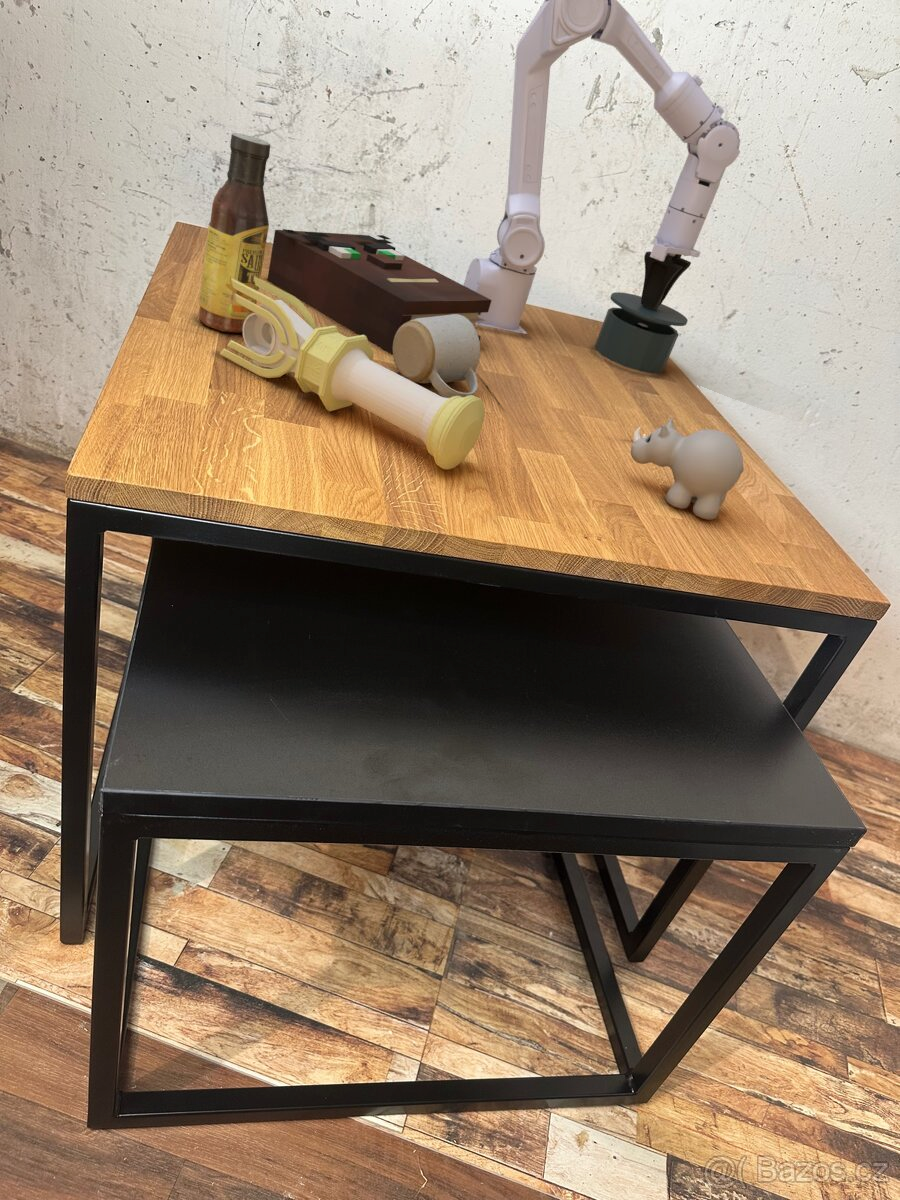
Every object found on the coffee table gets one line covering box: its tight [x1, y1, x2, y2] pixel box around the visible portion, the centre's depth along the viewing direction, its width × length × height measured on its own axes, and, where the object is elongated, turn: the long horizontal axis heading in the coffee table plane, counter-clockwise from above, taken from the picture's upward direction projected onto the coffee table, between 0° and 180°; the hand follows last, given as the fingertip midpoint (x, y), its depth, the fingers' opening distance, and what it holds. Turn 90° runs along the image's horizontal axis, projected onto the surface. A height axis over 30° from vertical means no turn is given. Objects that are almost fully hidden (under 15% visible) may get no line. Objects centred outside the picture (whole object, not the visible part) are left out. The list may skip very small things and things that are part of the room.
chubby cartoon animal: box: [630, 418, 745, 521], centre depth 92 cm, size 7×12×8 cm, turn 62°
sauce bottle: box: [198, 132, 271, 334], centre depth 95 cm, size 7×6×20 cm
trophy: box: [219, 276, 486, 470], centre depth 87 cm, size 8×8×30 cm
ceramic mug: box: [392, 314, 481, 398], centre depth 101 cm, size 11×8×8 cm
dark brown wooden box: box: [266, 228, 492, 356], centre depth 118 cm, size 19×8×30 cm
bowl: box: [594, 307, 679, 374], centre depth 134 cm, size 11×11×6 cm
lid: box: [610, 291, 689, 327], centre depth 131 cm, size 12×12×5 cm
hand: (649, 305), depth 131 cm, fingers closed on lid, 2 cm apart
